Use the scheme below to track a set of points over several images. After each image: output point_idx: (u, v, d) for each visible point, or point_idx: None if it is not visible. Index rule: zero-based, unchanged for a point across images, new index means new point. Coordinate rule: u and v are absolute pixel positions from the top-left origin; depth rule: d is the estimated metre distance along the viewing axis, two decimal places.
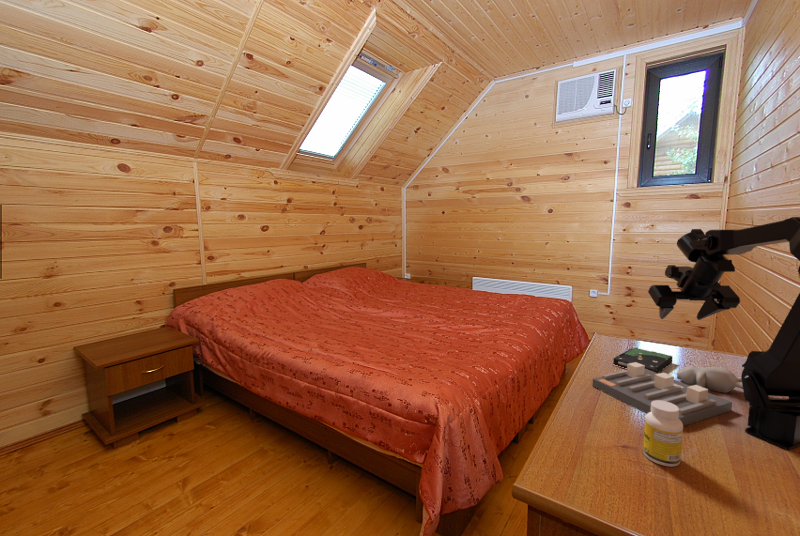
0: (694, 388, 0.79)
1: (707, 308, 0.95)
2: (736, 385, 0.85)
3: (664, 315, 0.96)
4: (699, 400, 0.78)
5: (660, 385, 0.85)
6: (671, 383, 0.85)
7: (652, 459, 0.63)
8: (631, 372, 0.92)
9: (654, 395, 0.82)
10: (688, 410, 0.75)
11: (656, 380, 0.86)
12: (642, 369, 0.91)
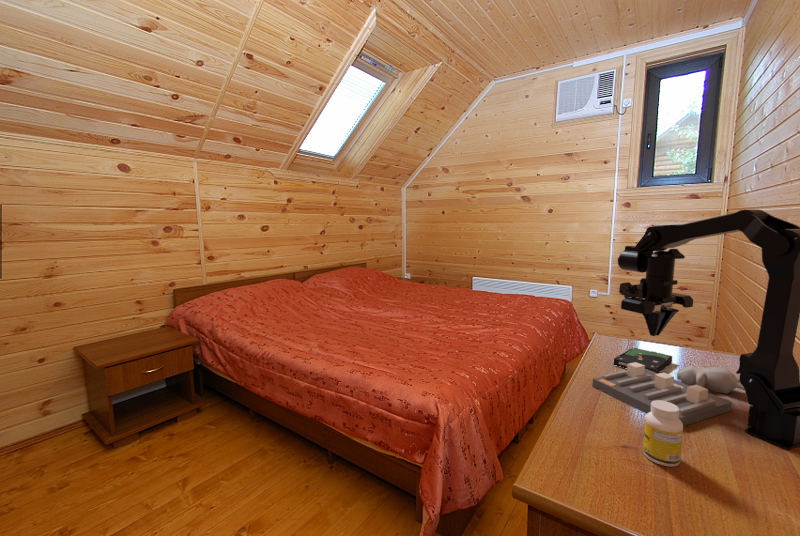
0: (694, 388, 0.79)
1: None
2: (736, 386, 0.85)
3: (657, 328, 0.91)
4: (699, 400, 0.78)
5: (660, 385, 0.85)
6: (671, 383, 0.85)
7: (652, 459, 0.63)
8: (631, 372, 0.92)
9: (654, 395, 0.82)
10: (688, 410, 0.75)
11: (656, 380, 0.86)
12: (642, 369, 0.91)
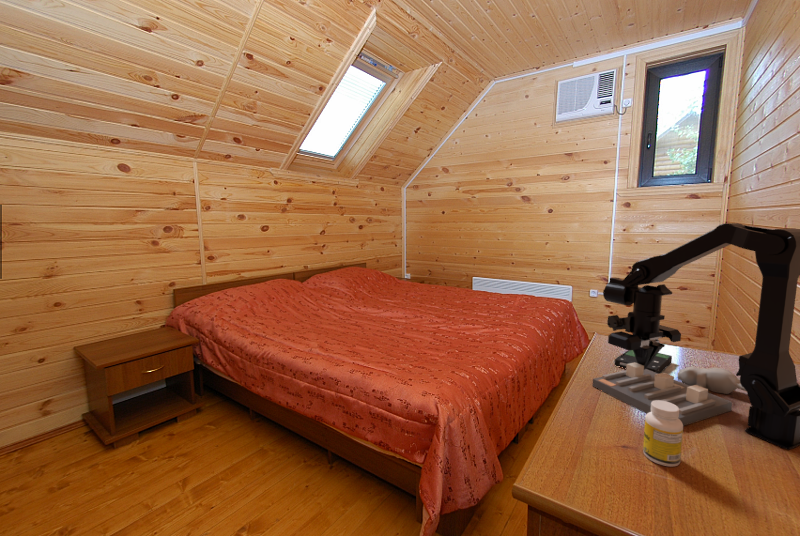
0: (694, 388, 0.79)
1: None
2: (737, 386, 0.85)
3: (646, 362, 0.91)
4: (699, 400, 0.78)
5: (660, 385, 0.85)
6: (671, 383, 0.85)
7: (652, 459, 0.63)
8: (630, 372, 0.92)
9: (654, 395, 0.82)
10: (688, 410, 0.75)
11: (656, 380, 0.86)
12: (641, 370, 0.91)
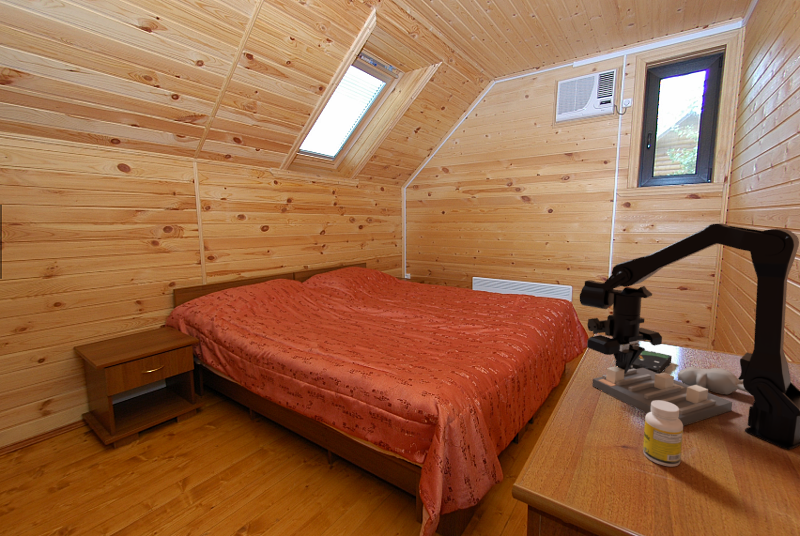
0: (694, 388, 0.79)
1: None
2: (737, 387, 0.84)
3: (626, 366, 0.89)
4: (699, 400, 0.78)
5: (660, 385, 0.85)
6: (671, 383, 0.85)
7: (652, 459, 0.63)
8: (610, 377, 0.89)
9: (654, 395, 0.82)
10: (688, 410, 0.75)
11: (656, 380, 0.86)
12: (622, 374, 0.89)
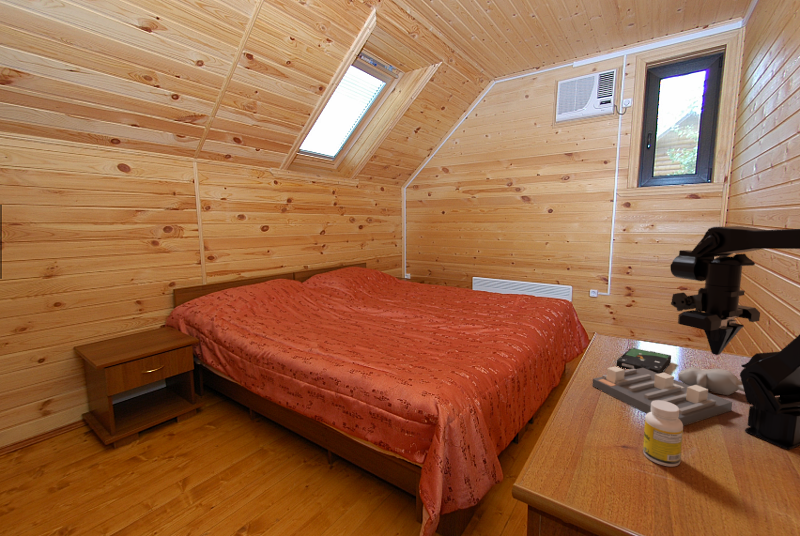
0: (694, 388, 0.79)
1: None
2: (737, 387, 0.84)
3: (722, 346, 0.79)
4: (699, 400, 0.78)
5: (660, 385, 0.85)
6: (671, 383, 0.85)
7: (652, 459, 0.63)
8: (611, 377, 0.89)
9: (654, 395, 0.82)
10: (688, 410, 0.75)
11: (656, 380, 0.86)
12: (622, 374, 0.89)
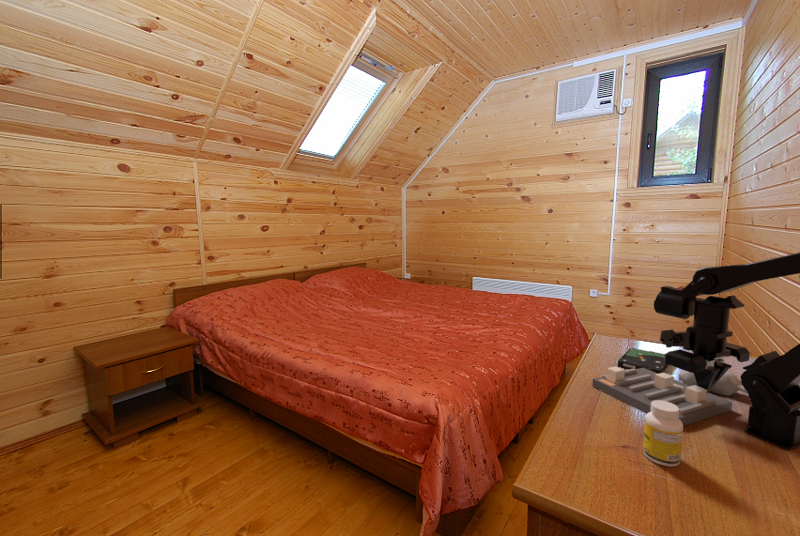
0: (692, 388, 0.79)
1: None
2: (738, 388, 0.84)
3: (709, 386, 0.78)
4: (698, 400, 0.78)
5: (660, 385, 0.85)
6: (671, 383, 0.85)
7: (652, 459, 0.63)
8: (611, 377, 0.89)
9: (654, 395, 0.82)
10: (688, 410, 0.75)
11: (656, 380, 0.86)
12: (622, 374, 0.89)
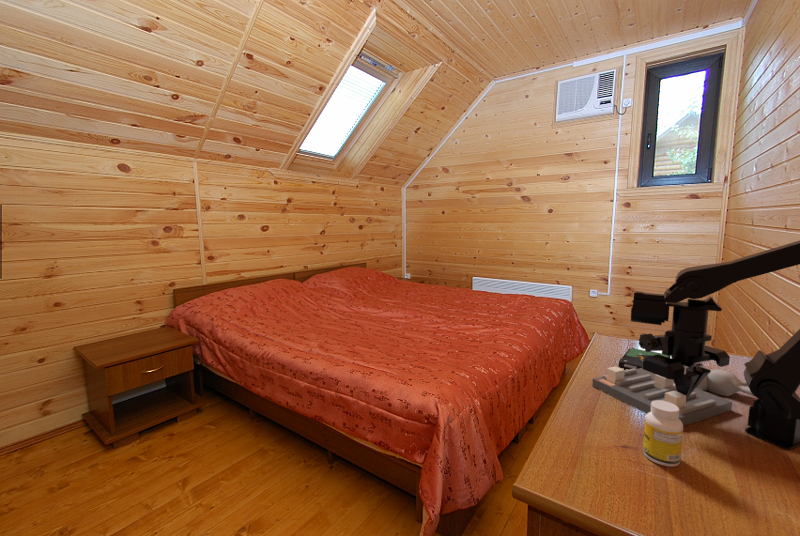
0: (671, 393, 0.77)
1: None
2: (738, 389, 0.84)
3: (688, 391, 0.76)
4: (677, 406, 0.75)
5: (660, 385, 0.85)
6: (671, 383, 0.85)
7: (652, 459, 0.63)
8: (611, 377, 0.89)
9: (654, 395, 0.82)
10: (688, 410, 0.75)
11: (656, 380, 0.86)
12: (622, 374, 0.89)
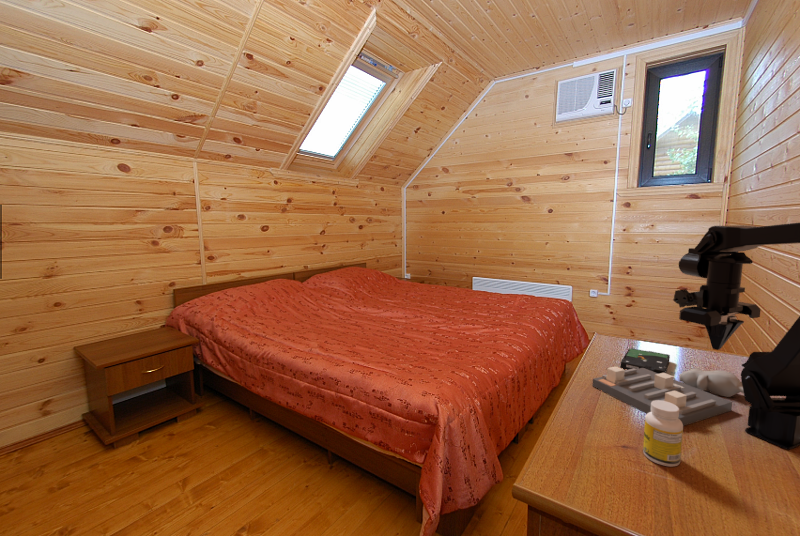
0: (672, 393, 0.77)
1: None
2: (738, 389, 0.83)
3: (722, 341, 0.81)
4: (677, 406, 0.75)
5: (660, 385, 0.85)
6: (671, 383, 0.85)
7: (652, 459, 0.63)
8: (611, 377, 0.89)
9: (654, 395, 0.82)
10: (688, 410, 0.75)
11: (656, 380, 0.86)
12: (622, 374, 0.89)
